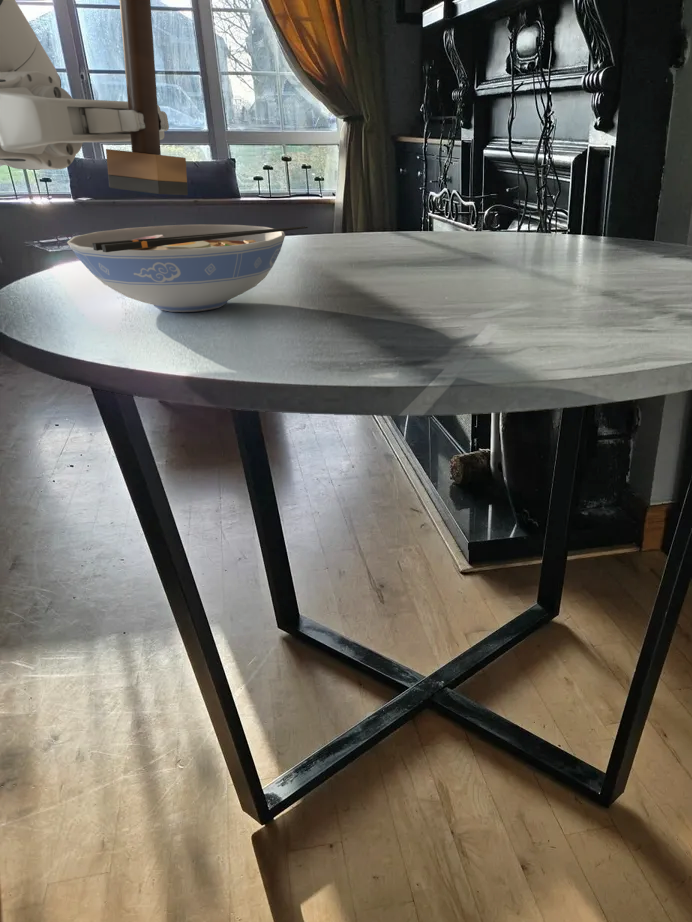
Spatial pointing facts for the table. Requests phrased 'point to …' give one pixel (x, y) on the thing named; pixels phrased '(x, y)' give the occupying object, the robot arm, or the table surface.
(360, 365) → the table surface
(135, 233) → the ramen bowl
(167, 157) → the brush
